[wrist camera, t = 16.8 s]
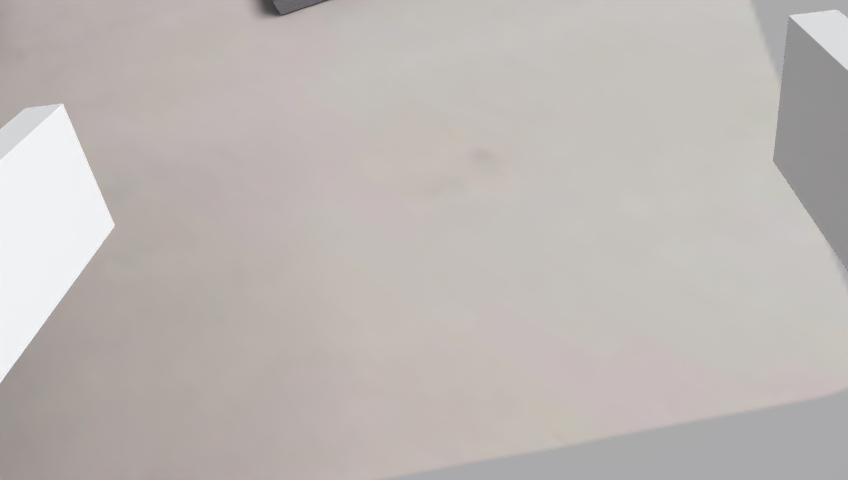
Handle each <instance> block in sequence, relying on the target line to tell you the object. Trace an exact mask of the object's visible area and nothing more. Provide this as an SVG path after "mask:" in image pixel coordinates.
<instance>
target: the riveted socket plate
mask: <svg viewBox="0 0 848 480" xmlns="http://www.w3.org/2000/svg"><path fill="white" fill-rule="evenodd" d="M272 1H273V3H274V5H275V6H276V8H277V9H278V11H279V12H280V14H281V15H283V14H286V13H289V12H292V11H295V10H298V9H301V8H304V7H307V6H310V5H313V4H316V3H319V2H322V1H325V0H272Z"/></svg>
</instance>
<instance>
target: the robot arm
mask: <svg viewBox="0 0 848 480" xmlns="http://www.w3.org/2000/svg"><path fill="white" fill-rule="evenodd" d="M773 161H774V163H775V164H776V166H777V167H778V169H779V170H780V172H781V173H782V175H783V176H784V178H785V179H786V181H787V182H788V184H789V185H790V187H791V188H792V190H793V191H794V192H795V194H796V195H797V197H798V198H799V200H800V201H801V203H802V204H803V206H804V207H805V209H806V210H807V212H808V213H809V215H810V216H811V218H812V219H813V221H814V222H815V224H816V225H817V226H818V228H819V229H820V231H821V232H822V234H823V235H824V237H825V238H826V240H827V241H828V243H829V244H830V246H831V247H832V249H833V250H834V252H835V253H836V255H837V256H838V258H839V259H840V260H841V262H842V263H843V265H844V266H845V268H846V269H847V271H848V18H847V17H845V16H844V15H843V14H842V13H840V12H839V11H838V10H830V11H822V12H814V13H806V14H797V15H789V17H788V28H787V36H786V46H785V56H784V65H783V74H782V83H781V92H780V102H779V111H778V121H777V130H776V139H775V149H774V158H773ZM114 226H115V225H114V223H113V220H112V218H111V216H110V213H109V211H108V209H107V206H106V204H105V202H104V199H103V197H102V195H101V192H100V190H99V188H98V185H97V183H96V181H95V178H94V176H93V174H92V171H91V169H90V166H89V164H88V162H87V159H86V157H85V155H84V152H83V150H82V148H81V145H80V143H79V141H78V138H77V136H76V134H75V131H74V129H73V127H72V124H71V122H70V119H69V117H68V115H67V112H66V110H65V108H64V105H63V104H54V105H46V106H38V107H30V108H25V109H24V110H22V111H21V112H20V113H19V114H18V115H17V116H15V117H14V118H13V119H12V120H11V121H9V122H8V123H7V124H6V125H5V126H3V127H2V128H1V129H0V383H1V381H2V380H3V379H4V377H5V376H6V374H7V373H8V372H9V370H10V369H11V368H12V366H13V365H14V363H15V362H16V361H17V359H18V358H19V357H20V355H21V354H22V352H23V351H24V350H25V348H26V347H27V346H28V344H29V343H30V342H31V340H32V339H33V337H34V336H35V335H36V333H37V332H38V331H39V329H40V328H41V326H42V325H43V324H44V322H45V321H46V320H47V318H48V317H49V315H50V314H51V313H52V311H53V310H54V309H55V307H56V306H57V304H58V303H59V302H60V300H61V299H62V298H63V296H64V295H65V294H66V292H67V291H68V289H69V288H70V287H71V285H72V284H73V283H74V281H75V280H76V278H77V277H78V276H79V274H80V273H81V272H82V270H83V269H84V267H85V266H86V265H87V263H88V262H89V261H90V259H91V258H92V256H93V255H94V254H95V252H96V251H97V250H98V248H99V247H100V246H101V244H102V243H103V241H104V240H105V239H106V237H107V236H108V235H109V233H110V232H111V230H112V229H113V228H114Z"/></svg>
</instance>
